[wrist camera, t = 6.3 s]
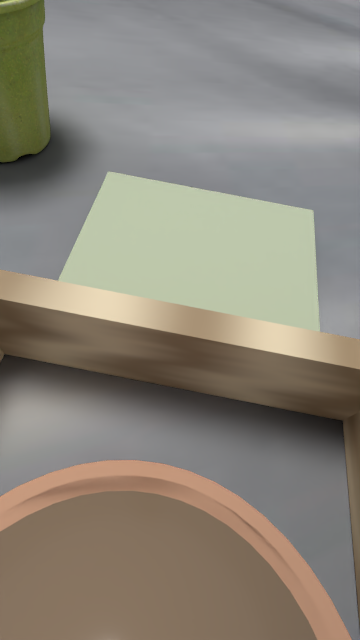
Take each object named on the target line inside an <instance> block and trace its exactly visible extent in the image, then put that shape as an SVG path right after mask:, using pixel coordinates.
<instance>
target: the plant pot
mask: <svg viewBox="0 0 360 640" xmlns="http://www.w3.org/2000/svg"><path fill="white" fill-rule="evenodd" d="M44 21H45V8H44V0H0V162H11V161H15V160H17V159H18V158H19V157H20V156H22V155H25V154H37V153H38V152H40V151H41V150H43V149H44V148H45V147H46V145H47V144H48V142H49V140H50V120H49V108H48V96H47V84H46V72H45V58H44V43H43V25H44Z"/></svg>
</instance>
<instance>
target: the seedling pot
mask: <svg viewBox="0 0 360 640" xmlns="http://www.w3.org/2000/svg"><path fill="white" fill-rule="evenodd" d="M0 640H352V639H351V637H350V635H349V633H348V631H347V629H346V627H345V625H344V623H343V621H342V620H341V618H340V616H339V614H338V612H337V610H336V608H335V606H334V604H333V602H332V600H331V599H330V597H329V596H328V594H327V593H326V591H325V589H324V588H323V586H322V585H321V583H320V582H319V580H318V579H317V577H316V575H315V574H314V572H313V571H312V569H311V568H310V566H309V565H308V564H307V563H306V561H305V560H304V559H303V558H302V557H301V555H300V554H299V553H298V552H297V550H296V549H295V548H294V547H293V545H292V544H291V543H290V542H289V540H288V539H287V538H286V537H285V536H284V535H283V534H282V533H281V532H280V531H279V530H278V529H277V528H276V527H275V526H274V525H273V524H272V523H271V522H270V521H269V520H268V519H267V518H266V517H265V516H264V515H262V514H261V513H260V512H258V511H257V510H256V509H255V508H253V507H252V506H251V505H250V504H248V503H247V502H246V501H244V500H243V499H242V498H241V497H239V496H237V495H236V494H234V493H232V492H231V491H229V490H227V489H226V488H224V487H222V486H221V485H219V484H217V483H216V482H214V481H211V480H209V479H207V478H204V477H202V476H200V475H197V474H195V473H193V472H190V471H188V470H184V469H180V468H177V467H173V466H169V465H166V464H162V463H154V462H146V461H138V460H107V461H100V462H93V463H86V464H80V465H76V466H72V467H69V468H65V469H62V470H58V471H55V472H51V473H48V474H46V475H43V476H41V477H39V478H36V479H34V480H32V481H29V482H27V483H24V484H22V485H20V486H18V487H16V488H14V489H13V490H11V491H9V492H7V493H6V494H4V495H2V496H0Z"/></svg>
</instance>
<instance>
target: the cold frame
mask: <svg viewBox="0 0 360 640" xmlns="http://www.w3.org/2000/svg"><path fill="white" fill-rule="evenodd" d="M4 354H7V355H12V356H17V357H22V358H28V359H33V360H38V361H43V362H48V363H53V364H58V365H63V366H68V367H73V368H78V369H83V370H88V371H93V372H98V373H104V374H109V375H114V376H119V377H124V378H129V379H134V380H139V381H144V382H149V383H154V384H159V385H164V386H169V387H174V388H179V389H185V390H190V391H195V392H200V393H205V394H210V395H215V396H220V397H225V398H230V399H235V400H240V401H245V402H250V403H255V404H261V405H266V406H271V407H276V408H281V409H286V410H291V411H296V412H301V413H306V414H311V415H316V416H321V417H326V418H331V419H337V420H342V421H343V430H344V442H345V454H346V466H347V478H348V490H349V503H350V515H351V527H352V539H353V551H354V563H355V576H356V588H357V600H358V612H359V624H360V340H359V339H354V338H349V337H344V336H339V335H334V334H329V333H323V332H318V331H313V330H308V329H303V328H298V327H293V326H287V325H282V324H277V323H272V322H267V321H262V320H257V319H251V318H246V317H241V316H236V315H231V314H226V313H221V312H215V311H210V310H205V309H200V308H195V307H190V306H185V305H179V304H174V303H169V302H164V301H159V300H154V299H149V298H143V297H138V296H133V295H128V294H123V293H118V292H113V291H107V290H102V289H97V288H92V287H87V286H82V285H77V284H71V283H66V282H61V281H56V280H51V279H46V278H41V277H35V276H30V275H25V274H20V273H15V272H10V271H5V270H0V362H1V360H2V358H3V356H4Z"/></svg>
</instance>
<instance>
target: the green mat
mask: <svg viewBox="0 0 360 640" xmlns="http://www.w3.org/2000/svg"><path fill="white" fill-rule="evenodd" d="M58 281H61V282H66V283H71V284H77V285H82V286H87V287H92V288H97V289H102V290H107V291H113V292H118V293H123V294H128V295H133V296H138V297H143V298H149V299H154V300H159V301H164V302H169V303H174V304H179V305H185V306H190V307H195V308H200V309H205V310H210V311H215V312H221V313H226V314H231V315H236V316H241V317H246V318H251V319H257V320H262V321H267V322H272V323H277V324H282V325H287V326H293V327H298V328H303V329H308V330H313V331H318V332H320V326H319V308H318V289H317V271H316V252H315V234H314V215H313V210H308V209H303V208H298V207H292V206H287V205H282V204H277V203H271V202H266V201H261V200H256V199H250V198H245V197H240V196H235V195H229V194H224V193H219V192H214V191H208V190H203V189H198V188H193V187H187V186H182V185H177V184H172V183H166V182H161V181H156V180H150V179H145V178H140V177H135V176H129V175H124V174H119V173H114V172H108V174H107V176H106V178H105V180H104V182H103V184H102V187H101V189H100V191H99V193H98V195H97V197H96V200H95V202H94V204H93V206H92V208H91V210H90V213H89V215H88V217H87V219H86V221H85V223H84V226H83V228H82V230H81V232H80V234H79V236H78V239H77V241H76V243H75V245H74V247H73V249H72V252H71V254H70V256H69V258H68V260H67V262H66V265H65V267H64V269H63V271H62V273H61V275H60V278H59V280H58Z"/></svg>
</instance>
